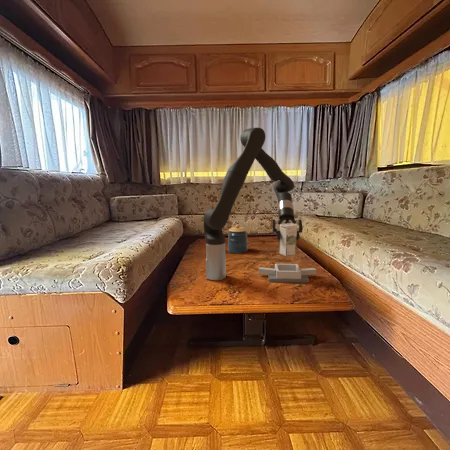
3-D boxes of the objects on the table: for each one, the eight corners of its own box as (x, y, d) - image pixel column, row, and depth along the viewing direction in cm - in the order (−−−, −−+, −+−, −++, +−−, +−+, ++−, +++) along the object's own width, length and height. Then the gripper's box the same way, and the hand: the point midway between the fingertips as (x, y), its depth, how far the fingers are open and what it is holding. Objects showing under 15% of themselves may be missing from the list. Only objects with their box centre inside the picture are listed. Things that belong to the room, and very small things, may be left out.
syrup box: (289, 252, 136) (289, 222, 133) (296, 255, 130) (297, 224, 128) (279, 253, 134) (279, 223, 131) (285, 256, 128) (286, 225, 126)
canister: (239, 247, 191) (238, 222, 188) (251, 251, 181) (251, 224, 178) (223, 250, 184) (223, 224, 181) (236, 255, 173) (235, 227, 170)
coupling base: (258, 281, 129) (258, 271, 128) (258, 272, 141) (258, 263, 140) (319, 282, 127) (319, 272, 126) (313, 273, 138) (314, 263, 138)
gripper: (271, 206, 136) (273, 235, 127) (301, 206, 135) (305, 235, 125) (270, 215, 142) (272, 243, 133) (299, 215, 141) (303, 243, 132)
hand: (288, 239), depth 129 cm, fingers closed on syrup box, 7 cm apart
